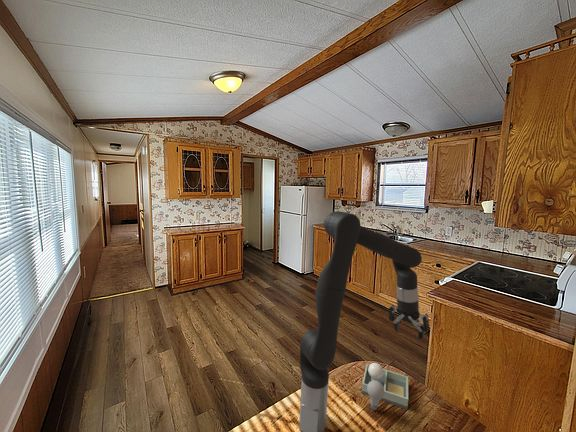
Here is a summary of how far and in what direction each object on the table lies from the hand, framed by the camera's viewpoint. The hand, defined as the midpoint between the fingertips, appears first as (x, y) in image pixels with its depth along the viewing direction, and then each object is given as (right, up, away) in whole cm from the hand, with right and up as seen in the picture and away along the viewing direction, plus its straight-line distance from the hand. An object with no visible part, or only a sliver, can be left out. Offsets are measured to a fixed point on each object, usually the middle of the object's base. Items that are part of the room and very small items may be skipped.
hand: (408, 334), depth 102 cm
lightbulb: (-15, -26, -4) cm, 31 cm away
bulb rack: (-8, -25, +5) cm, 27 cm away
